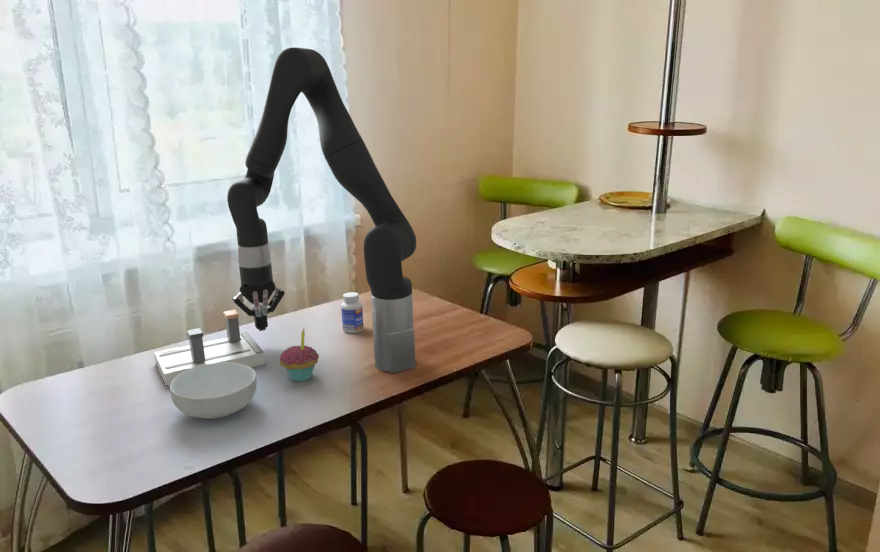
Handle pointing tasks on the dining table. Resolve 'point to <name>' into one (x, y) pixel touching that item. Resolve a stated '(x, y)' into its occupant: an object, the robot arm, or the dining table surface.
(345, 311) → the pill bottle
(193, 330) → the black fader
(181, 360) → the console
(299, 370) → the cupcake
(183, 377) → the cereal bowl
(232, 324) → the terracotta fader
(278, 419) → the dining table surface
